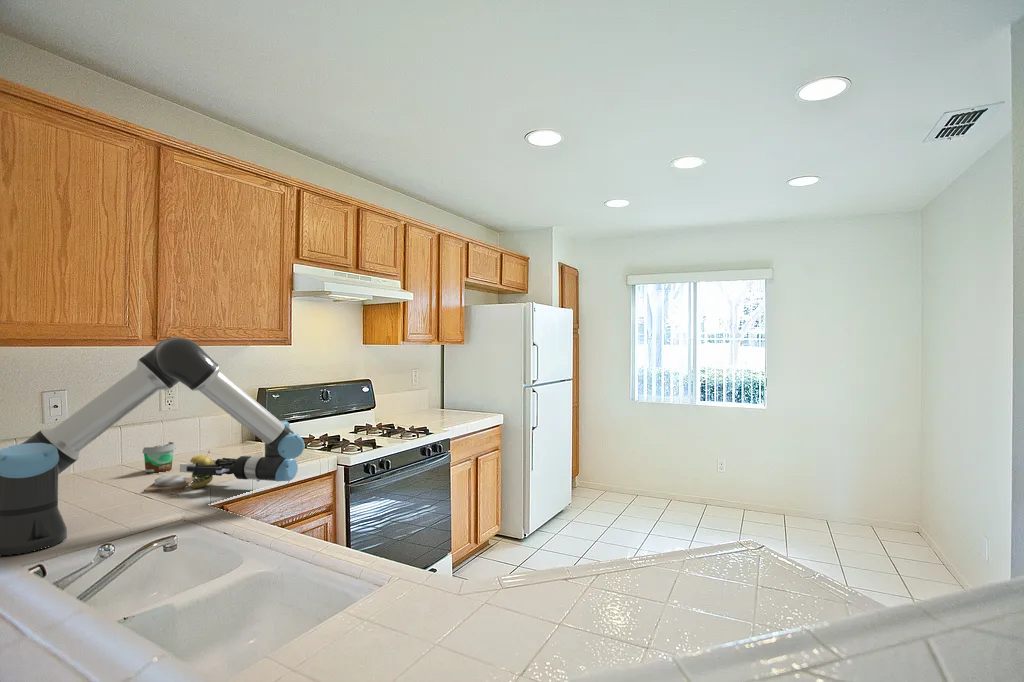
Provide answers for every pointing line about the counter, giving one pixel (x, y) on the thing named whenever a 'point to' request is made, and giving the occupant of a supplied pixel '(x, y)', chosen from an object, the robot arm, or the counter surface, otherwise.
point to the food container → (158, 458)
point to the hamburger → (201, 479)
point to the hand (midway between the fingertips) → (189, 465)
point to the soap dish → (169, 483)
